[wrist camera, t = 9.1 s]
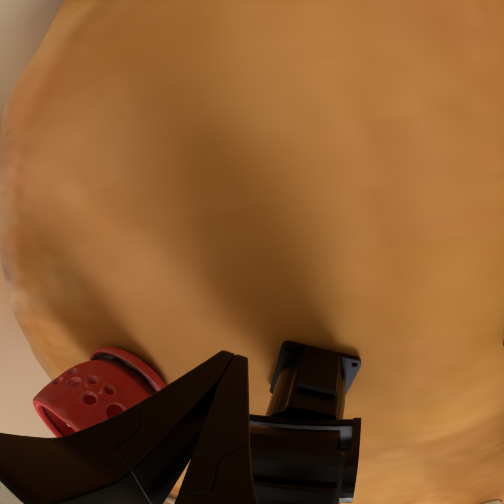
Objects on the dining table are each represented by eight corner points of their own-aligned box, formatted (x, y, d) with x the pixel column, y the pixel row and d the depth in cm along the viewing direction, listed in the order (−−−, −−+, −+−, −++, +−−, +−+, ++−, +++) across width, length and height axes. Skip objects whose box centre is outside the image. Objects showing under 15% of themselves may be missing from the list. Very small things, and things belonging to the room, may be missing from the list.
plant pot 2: (137, 326, 28) (61, 409, 18) (202, 415, 31) (156, 497, 21) (75, 338, 33) (15, 396, 23) (131, 411, 37) (87, 471, 26)
